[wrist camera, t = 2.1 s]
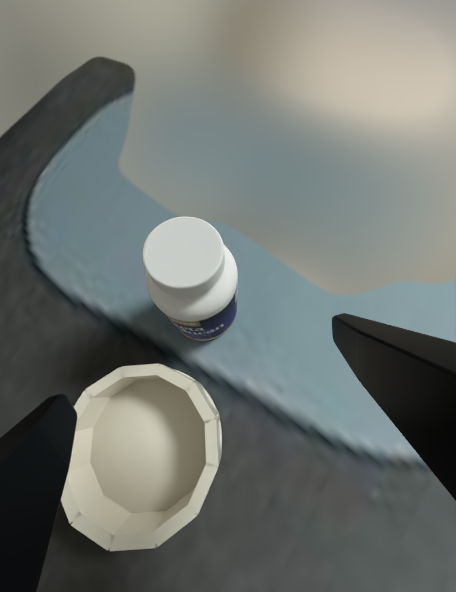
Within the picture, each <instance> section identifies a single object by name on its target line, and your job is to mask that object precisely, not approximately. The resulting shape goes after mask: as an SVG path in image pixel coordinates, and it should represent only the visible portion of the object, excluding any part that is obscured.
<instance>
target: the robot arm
mask: <svg viewBox="0 0 456 592" xmlns="http://www.w3.org/2000/svg"><path fill="white" fill-rule="evenodd" d="M332 333H333V340H334V342H335V344H336V346H337V347H338V349H339V350H340V352H341V354H342V355H343V357H344V358H345V360H346V361H347V363H348V364H349V366H350V368H351V369H352V371H353V372H354V374H355V375H356V377H357V378H358V380H359V381H360V382H361V384H362V385H363V386H364V387H365V389H366V390H367V391H368V392H369V394H370V395H371V396H372V397H373V399H374V400H375V401H376V402H377V404H378V405H379V406H380V407H381V409H382V410H383V411H384V412H385V414H386V415H387V416H388V417H389V418H390V420H391V421H392V422H393V423H394V425H395V426H396V427H397V428H398V430H399V431H400V432H401V433H402V435H403V436H404V437H405V438H406V440H407V441H408V442H409V443H410V445H411V446H412V447H413V448H414V450H415V451H416V452H417V453H418V454H419V456H420V457H421V458H422V459H423V461H424V462H425V463H426V464H427V466H428V467H429V468H430V469H431V471H432V472H433V473H434V474H435V476H436V477H437V478H438V479H439V481H440V482H441V483H442V484H443V486H444V487H445V488H446V489H447V490H448V492H449V493H450V494H451V495H452V497H453V498H454V499H455V500H456V342H452V341H448V340H444V339H440V338H437V337H433V336H429V335H425V334H421V333H418V332H414V331H410V330H406V329H403V328H399V327H395V326H391V325H387V324H384V323H380V322H376V321H372V320H368V319H365V318H361V317H357V316H353V315H350V314H346V313H343V314H339V315H336V316H334V317H333V318H332ZM76 424H77V412H76V410H75V409H74V407H73V405H72V404H71V402H70V401H69V399H68V398H67V396H66V395H64V394H59V395H55V396H51V397H49V398H47V399H46V400H45V401H44V402H43V403H41V404H40V405H39V406H38V407H37V408H35V409H34V410H33V411H32V412H31V413H30V414H28V415H27V416H26V417H25V418H24V419H22V420H21V421H20V422H19V423H18V424H16V425H15V426H14V427H13V428H12V429H11V430H9V431H8V432H7V433H6V434H5V435H3V436H2V437H1V438H0V592H36V591H37V587H38V583H39V579H40V576H41V572H42V568H43V564H44V561H45V557H46V553H47V549H48V546H49V542H50V538H51V535H52V531H53V527H54V523H55V520H56V516H57V512H58V508H59V505H60V501H61V497H62V493H63V490H64V486H65V482H66V478H67V475H68V470H69V466H70V461H71V455H72V449H73V443H74V437H75V430H76Z"/></svg>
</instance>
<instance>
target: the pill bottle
mask: <svg viewBox="0 0 456 592" xmlns="http://www.w3.org/2000/svg"><path fill="white" fill-rule="evenodd" d="M142 256H143V264H144V267H145V269H146V285H147V289H148V292H149V295H150V297H151V299H152V300H153V302H154V303H155V304H156V306H157V307H158V308H159V309H160V310H161V311H162V312H163V314H164V315H165V316H166V317H167V318H168V319H169V320H170V321H171V323H172V324H173V325H174V326H175V327H176V328H177V329H178V331H180V332H181V333H182V334H183V335H185V336H186V337H188V338H191V339H193V340H198V341H206V340H212V339H215V338H217V337H219V336H221V335H223V334H224V333H225V332H226V331H227V330H228V329H229V328H230V327H231V325H232V324H233V322H234V320H235V317H236V312H237V290H238V273H237V266H236V263H235V260H234V258H233V256H232V254H231V253H230V251H229V250H228V249H227V248H226V246H225V245H223V241H222V239H221V237H220V235H219V233H218V232H217V231H216V229H215V228H214V227H213V226H211V225H210V224H209V223H207V222H205V221H203V220H201V219H198V218H194V217H176V218H173V219H170V220H167V221H165V222H163V223H161V224H160V225H158V226H157V227H156V228H155V229H154V230H153V231H152V232H151V233H150V234H149V236H148V237H147V239H146V241H145V244H144V247H143V254H142Z"/></svg>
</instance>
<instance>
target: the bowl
mask: <svg viewBox="0 0 456 592" xmlns="http://www.w3.org/2000/svg"><path fill="white" fill-rule="evenodd" d="M74 409H75V410H76V412H77V424H76V430H75V437H74V443H73V449H72V455H71V461H70V466H69V470H68V475H67V478H66V482H65V486H64V490H63V493H62V497H61V502H62V505H63V507H64V510H65V513H66V515H67V518H68V521H69V523H71V522H73V523H72V524H71V526H72V527H74V528H75V529H77V530H78V531H80V532H81V533H83V534H84V535H85V536H87V537H88V538H90V539H91V540H93V541H94V542H96V543H97V544H98V545H100V546H101V547H103V548H104V549H106V550H107V551H108V550H109V548H110V551H122V550H136V549H150V548H156V546H157V547H158V546H160V545H161V544H162V543H164V542H165V541H166V540H167V539H169V538H170V537H171V536H172V535H174V534H175V533H176V532H177V531H179V530H180V529H181V528H182V527H184V526H185V525H186V524H187V523H189V522H190V521H191V520H193V519H194V518H195V517H196V516H197V514H198V513H199V511H200V509H201V506H202V504H203V502H204V499H205V497H206V495H207V493H208V490H209V488H210V486H211V483H212V481H213V479H214V476H215V474H216V472H217V469H218V466H219V462H220V458H221V454H222V449H221V448H222V428H221V422H220V415H219V412H218V411H217V408H216V406H215V404H214V402H213V400H212V398H211V397H210V395H209V394H208V392H207V391H206V390H205V389H204V388H203V386H202V384H200V383H199V382H197V381H196V380H195V379H193V378H192V377H190V376H188V375H187V374H184V373H182V372H180V371H177V370H174V369H172V368H170V367H167V366H165V365H162V364H146V365H133V366H122V367H119V368H117V369H116V370H114V371H113V372H111V373H110V374H108V375H107V376H105V377H103V378H102V379H100V380H99V381H97V382H96V383H94V384H93V385H91V386H89V387H88V388H86V391H83V393H82V395H81V396H80V398H79V399H78V401H77V403H76V404H75V406H74Z"/></svg>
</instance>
